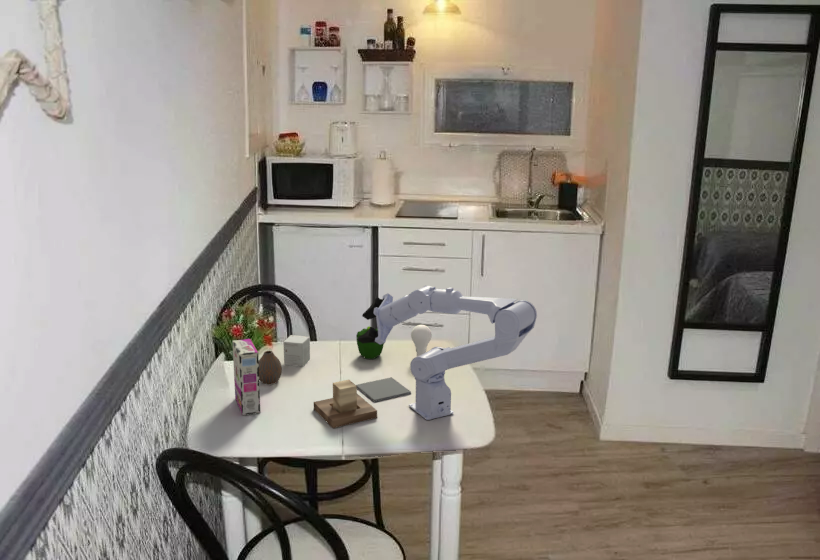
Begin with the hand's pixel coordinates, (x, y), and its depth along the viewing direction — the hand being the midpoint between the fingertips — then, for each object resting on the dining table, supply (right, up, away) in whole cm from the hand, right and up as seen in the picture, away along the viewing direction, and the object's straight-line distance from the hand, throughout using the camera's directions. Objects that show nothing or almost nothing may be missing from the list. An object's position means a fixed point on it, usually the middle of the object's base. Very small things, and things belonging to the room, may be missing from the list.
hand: (362, 328), depth 199 cm
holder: (-4, -21, -10) cm, 23 cm away
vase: (-26, -15, +9) cm, 32 cm away
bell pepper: (0, -10, +28) cm, 30 cm away
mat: (+5, -17, +4) cm, 18 cm away
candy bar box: (-29, -20, -6) cm, 36 cm away
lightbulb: (+16, -11, +25) cm, 32 cm away
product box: (-21, -12, +23) cm, 33 cm away
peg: (-4, -21, -10) cm, 23 cm away
